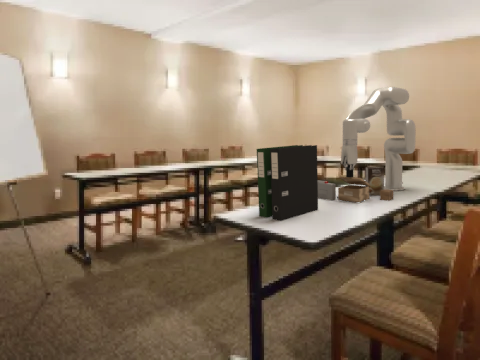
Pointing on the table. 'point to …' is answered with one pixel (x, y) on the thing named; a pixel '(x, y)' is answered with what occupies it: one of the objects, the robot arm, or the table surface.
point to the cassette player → (326, 190)
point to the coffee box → (375, 180)
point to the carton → (353, 193)
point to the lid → (354, 181)
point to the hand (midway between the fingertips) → (349, 177)
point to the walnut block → (386, 194)
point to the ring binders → (287, 181)
